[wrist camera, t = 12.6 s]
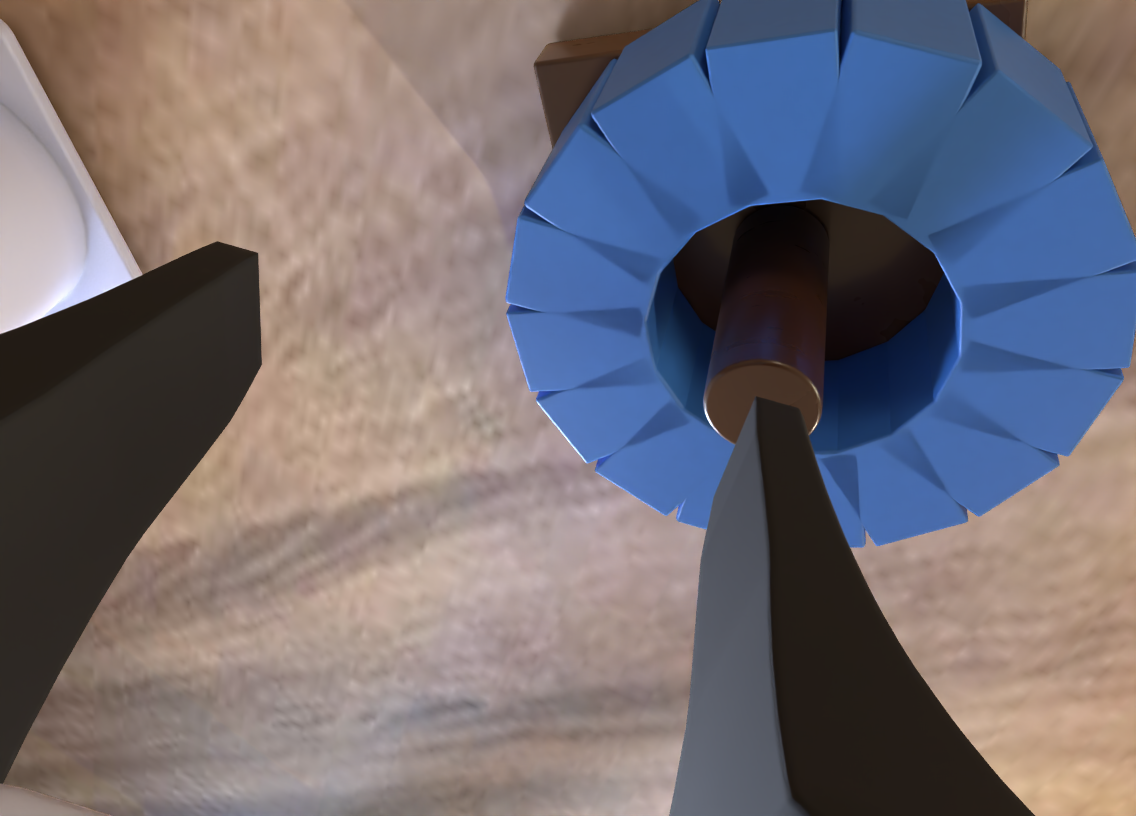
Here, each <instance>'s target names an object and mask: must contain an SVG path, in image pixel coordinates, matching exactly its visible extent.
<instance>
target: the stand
mask: <svg viewBox="0 0 1136 816" xmlns="http://www.w3.org/2000/svg"><path fill="white" fill-rule="evenodd" d="M966 3H967V7H968V10H969V12H970V11H971V9H972V8H973V7H974V6H975V5H976V4H978V3H979V4H981V5H983V6H984V7H985V8H986V9H987V10H989V11H990V12H991V13H992V14H994V15H995V16H996V17H997V18H998V19H1000V20H1001V21H1002V22H1003V23H1004V24H1006V25H1007V26H1008V27H1009V28H1011V29H1012V30H1013V31H1014V32H1015V33H1017V34H1018V35H1019V36H1020V37H1021V38H1023V39H1024V40H1025V37H1026V23H1027V9H1028V0H966ZM651 30H652V29H647V30H640V31H633V32H626V33H619V34H612V35H605V36H598V37H591V38H584V39H577V40H570V41H563V42H556V43H549V44H548V45H546V47H545V48H544V49H543V51H542V52H541V54H540V55H539V57H538V58H537V60H536V61H535V63H534V70H535V74H536V78H537V83H538V87H539V92H540V96H541V100H542V105H543V109H544V113H545V118H546V122H547V126H548V131H549V135H550V140H551V144H552V148H554V146H555V144H556V142H557V140H558V138H559V137H560V135H561V133H562V131H563V130H564V128H565V127H566V125H567V124H568V122H569V121H570V120H571V118H572V117H573V115H574V114H575V112H576V111H577V109H578V108H579V106H580V105H581V103H582V102H583V101H584V99H585V98H586V96H587V95H588V93H589V92H590V90H591V89H592V87H593V86H594V84H595V83H596V82H597V80H598V79H599V77H600V76H601V74H602V73H603V71H604V70H605V68H606V67H607V66H608V64H609V63H610V61H611V60H613V59H617V60H618V59H619V57H620V55H621V53H622V51H623V49H624V47H625V46H627V45H628V44H630V43H632V42H633V41H635V40H636V39H638V38H640V37H641V36H643V35H644V34H646V33H648V32H649V31H651ZM673 262H674V267H675V273H676V279H677V284H678V288H679V289H680V291H681V292H682V294H683V295H684V297H685V298H686V300H687V301H688V303H689V304H690V305H691V307H692V308H693V310H694V311H695V313H696V314H697V316H698V317H699V319H700V320H701V322H702V323H704V324H705V325H707V326H708V327H710V328H711V329H713V330H714V331H716V333H715V338H714V343H713V349H712V354H711V359H710V364H709V369H708V375H707V380H706V385H705V390H704V396H703V407H704V411H705V414H706V417H707V419H708V421H709V423H710V424H711V426H712V427H713V429H714V430H715V431H716V432H717V433H718V434H719V435H720V436H721V437H723V438H724V439H725V440H727V441H729V442H730V443H732V444H734V445H735V444H736V442H737V440H738V437H739V435H740V432H741V430H742V428H743V425H744V423H745V420H746V418H747V416H748V413H749V411H750V408H751V406H752V404H753V401H754V399H755V396H758V397H761V398H765V399H768V400H772V401H775V402H779V403H782V404H786V405H789V406H793V407H796V408H799V409H800V411H801V413H802V415H803V416H804V420H805V423H806V427H807V431H808V434H809V435H810V434H811V433H812V432H813V431H814V430H815V428H816V427H817V425H818V423H819V421H820V419H821V416H822V411H823V389H824V365H825V361H832V360H840V359H843V358H846V357H848V356H851V355H854V354H856V353H859V352H862V351H864V350H867V349H869V348H872V347H875V346H877V345H880V344H883V343H885V342H888V341H889V340H890V339H891V338H892V337H894V336H895V335H896V334H897V333H898V332H900V331H901V330H902V329H903V328H904V327H905V326H907V325H908V324H909V323H910V322H911V321H912V320H914V319H915V318H916V317H917V316H918V315H920V314H921V313H922V312H923V311H924V310H925V309H926V307H927V305H928V303H929V301H930V299H931V297H932V295H933V293H934V291H935V290H936V288H937V286H938V284H939V282H940V280H941V278H942V276H943V274H944V271H943V269H942V268H941V266H940V264H939V262H938V260H937V258H936V256H935V254H934V253H933V252H932V251H930V250H929V249H928V248H926V247H925V246H924V245H922V244H921V243H920V242H918V241H917V240H916V239H914V238H913V237H912V236H910V235H909V234H908V233H906V232H905V231H904V230H902V229H901V228H900V227H898V226H897V225H896V224H894V223H893V222H891V221H890V220H889V219H887V218H886V217H885V216H883V215H880V214H876V213H872V212H869V211H865V210H861V209H857V208H853V207H850V206H846V205H842V204H838V203H834V202H830V201H827V200H823V199H816V200H806V201H795V202H784V203H774V204H763V205H753V206H749V207H747V208H745V209H743V210H741V211H739V212H737V213H735V214H733V215H731V216H729V217H726V218H724V219H722V220H720V221H718V222H716V223H714V224H712V225H710V226H708V227H706V228H704V229H702V230H700V231H698V232H696V233H695V234H694V235H693V236H692V237H691V239H690V240H689V241H688V242H687V243H686V244H685V245H684V247H683V248H682V249H681V250H680V251H679V252H678V253H677V255H676V256H675V257H674V258H673Z"/></svg>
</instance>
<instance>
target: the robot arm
mask: <svg viewBox="0 0 1136 816" xmlns="http://www.w3.org/2000/svg"><path fill="white" fill-rule="evenodd" d="M261 365H262V357H261V326H260V296H259V266H258V253H256V252H253V251H249V250H246V249H242V248H239V247H235V246H232V245H228V244H225V243H221V242H218V241H217V242H215V243H212V244H210V245H207V246H205V247H202V248H200V249H198V250H195V251H193V252H191V253H189V254H186V255H184V256H182V257H180V258H178V259H176V260H173V261H171V262H169V263H167V264H165V265H163V266H161V267H158V268H156V269H154V270H152V271H150V272H148V273H146V274H142V272H141V270H140V268H139V267H138V265H137V263H136V261H135V259H134V257H133V255H132V254H131V252H130V250H129V248H128V246H127V244H126V242H125V240H124V239H123V237H122V235H121V233H120V231H119V229H118V227H117V226H116V224H115V222H114V220H113V218H112V216H111V214H110V213H109V211H108V209H107V207H106V205H105V203H104V201H103V199H102V198H101V196H100V194H99V192H98V190H97V188H96V186H95V185H94V183H93V181H92V179H91V177H90V175H89V173H88V171H87V170H86V168H85V166H84V164H83V162H82V160H81V158H80V157H79V155H78V153H77V151H76V149H75V147H74V145H73V143H72V142H71V140H70V138H69V136H68V134H67V132H66V130H65V129H64V127H63V125H62V123H61V121H60V119H59V117H58V115H57V114H56V112H55V110H54V108H53V106H52V104H51V102H50V101H49V99H48V97H47V95H46V93H45V91H44V89H43V88H42V86H41V84H40V82H39V80H38V78H37V76H36V74H35V73H34V71H33V69H32V67H31V65H30V63H29V61H28V60H27V58H26V56H25V54H24V52H23V50H22V48H21V46H20V45H19V43H18V41H17V39H16V37H15V35H14V33H13V32H12V30H11V29H10V28H9V26H8V25H7V24H6V23H5V22H4V21H2V20H1V19H0V816H112V815H109V814H105V813H102V812H99V811H96V810H93V809H90V808H86V807H83V806H80V805H77V804H74V803H71V802H67V801H64V800H61V799H58V798H55V797H52V796H48V795H45V794H42V793H39V792H36V791H33V790H29V789H26V788H22V787H17V786H11V785H6V784H3V782H4V780H5V778H6V776H7V774H8V772H9V770H10V768H11V766H12V764H13V762H14V760H15V758H16V756H17V754H18V752H19V750H20V748H21V746H22V744H23V742H24V739H25V737H26V735H27V734H28V732H29V730H30V728H31V726H32V724H33V722H34V720H35V718H36V717H37V715H38V713H39V711H40V709H41V707H42V705H43V703H44V701H45V700H46V698H47V696H48V694H49V692H50V690H51V688H52V686H53V684H54V683H55V681H56V679H57V677H58V675H59V673H60V671H61V669H62V668H63V666H64V664H65V662H66V661H67V659H68V657H69V655H70V654H71V652H72V650H73V648H74V647H75V645H76V643H77V641H78V640H79V638H80V636H81V634H82V632H83V631H84V629H85V627H86V625H87V624H88V622H89V620H90V618H91V617H92V615H93V613H94V611H95V610H96V608H97V606H98V605H99V603H100V602H101V600H102V598H103V597H104V595H105V593H106V592H107V590H108V588H109V587H110V585H111V583H112V582H113V580H114V578H115V577H116V575H117V574H118V572H119V570H120V569H121V567H122V565H123V564H124V562H125V560H126V559H127V557H128V556H129V554H130V553H131V551H132V550H133V549H134V547H135V546H136V544H137V543H138V541H139V540H140V539H141V537H142V536H143V534H144V533H145V532H146V530H147V529H148V528H149V526H150V525H151V524H152V523H153V521H154V520H155V519H156V517H157V516H158V515H159V513H160V512H161V511H162V510H163V508H164V507H165V506H166V504H167V503H168V502H169V501H170V499H171V498H172V497H173V495H174V494H175V493H176V491H177V490H178V489H179V488H180V486H181V485H182V484H183V482H184V481H185V480H186V479H187V477H188V476H189V475H190V473H191V472H192V471H193V470H194V468H195V467H196V466H197V464H198V463H199V462H200V460H201V459H202V458H203V457H204V455H205V454H206V453H207V451H208V450H209V449H210V447H211V446H212V445H213V443H214V442H215V441H216V439H217V438H218V437H219V435H220V434H221V433H222V431H223V430H224V429H225V427H226V426H227V425H228V423H229V422H230V421H231V419H232V417H233V416H234V414H235V412H236V410H237V409H238V407H239V405H240V404H241V402H242V400H243V398H244V397H245V395H246V393H247V391H248V389H249V387H250V386H251V384H252V382H253V380H254V378H255V376H256V374H257V373H258V371H259V369H260V367H261ZM669 816H1035V815H1034V814H1033V813H1032V812H1031V811H1030V810H1029V809H1028V808H1027V807H1026V806H1025V805H1024V803H1023V802H1022V801H1021V800H1020V799H1019V798H1018V797H1017V796H1016V795H1015V794H1014V793H1013V792H1012V791H1011V790H1010V788H1009V787H1008V786H1007V785H1006V784H1005V783H1004V782H1003V781H1002V780H1001V779H1000V777H999V776H998V775H997V774H996V773H995V772H994V770H993V769H992V768H991V767H990V766H989V764H988V763H987V762H986V761H985V759H984V758H983V757H982V756H981V755H980V753H979V752H978V751H977V750H976V749H975V747H974V746H973V745H972V744H971V742H970V741H969V740H968V739H967V738H966V736H965V735H964V734H963V733H962V731H961V730H960V729H959V727H958V726H957V725H956V723H955V722H954V721H953V720H952V718H951V717H950V716H949V714H948V713H947V712H946V710H945V709H944V707H943V706H942V705H941V703H940V702H939V700H938V699H937V697H936V696H935V695H934V693H933V692H932V690H931V689H930V688H929V686H928V685H927V683H926V682H925V681H924V679H923V678H922V676H921V675H920V673H919V672H918V671H917V669H916V668H915V666H914V665H913V663H912V662H911V660H910V659H909V657H908V655H907V654H906V652H905V651H904V649H903V648H902V646H901V644H900V643H899V641H898V639H897V638H896V636H895V634H894V632H893V631H892V629H891V627H890V626H889V624H888V622H887V620H886V619H885V617H884V615H883V613H882V611H881V610H880V608H879V606H878V604H877V602H876V600H875V598H874V596H873V595H872V593H871V591H870V589H869V587H868V585H867V583H866V581H865V579H864V576H863V574H862V572H861V570H860V568H859V566H858V564H857V562H856V560H855V558H854V555H853V553H852V551H851V549H850V546H849V544H848V542H847V539H846V537H845V535H844V532H843V530H842V527H841V525H840V522H839V520H838V517H837V515H836V512H835V510H834V507H833V505H832V502H831V500H830V497H829V495H828V492H827V489H826V486H825V484H824V481H823V478H822V475H821V472H820V469H819V466H818V463H817V460H816V457H815V454H814V451H813V447H812V444H811V441H810V437H809V434H808V431H807V427H806V423H805V420H804V416H803V415H802V413H801V411H800V409H799V408H796V407H793V406H789V405H786V404H782V403H779V402H775V401H772V400H768V399H765V398H761V397H758V396H755V399H754V401H753V404H752V406H751V408H750V411H749V413H748V416H747V418H746V420H745V423H744V425H743V428H742V430H741V432H740V435H739V437H738V440H737V442H736V444H735V447H734V449H733V452H732V454H731V456H730V459H729V461H728V464H727V466H726V468H725V471H724V473H723V476H722V478H721V480H720V483H719V485H718V488H717V490H716V492H715V495H714V498H713V503H712V507H711V512H710V517H709V522H708V526H707V531H706V536H705V541H704V546H703V551H702V556H701V564H700V575H699V587H698V599H697V611H696V624H695V637H694V649H693V662H692V675H691V688H690V699H689V707H688V715H687V723H686V730H685V735H684V741H683V746H682V751H681V757H680V762H679V768H678V773H677V778H676V784H675V789H674V794H673V800H672V805H671V810H670V815H669Z"/></svg>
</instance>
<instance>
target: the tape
mask: <svg viewBox="0 0 1136 816" xmlns="http://www.w3.org/2000/svg"><path fill="white" fill-rule="evenodd" d="M816 199H823V200H827V201H830V202H834V203H838V204H842V205H846V206H850V207H853V208H857V209H861V210H865V211H869V212H872V213H876V214H880V215H883V216H885V217H886V218H887V219H889V220H890V221H891V222H893V223H894V224H896V225H897V226H898V227H900V228H901V229H902V230H904V231H905V232H906V233H908V234H909V235H910V236H912V237H913V238H914V239H916V240H917V241H918V242H920V243H921V244H922V245H924V246H925V247H926V248H928V249H929V250H930V251H932V252H933V253H934V254H935V256H936V258H937V260H938V262H939V264H940V266H941V268H942V269H943V271H944V274H943V276H942V278H941V280H940V282H939V284H938V286H937V288H936V290H935V291H934V293H933V295H932V297H931V299H930V301H929V303H928V305H927V307H926V309H925V310H924V311H923V312H922V313H921V314H920V315H918V316H917V317H916V318H915V319H914V320H912V321H911V322H910V323H909V324H908V325H907V326H905V327H904V328H903V329H902V330H901V331H900V332H898V333H897V334H896V335H895V336H894V337H892V338H891V339H890V340H889V341H888V342H885V343H883V344H880V345H877V346H875V347H872V348H869V349H867V350H864V351H862V352H859V353H856V354H854V355H851V356H848V357H846V358H843V359H840V360H832V361H825V365H824V389H823V411H822V416H821V419H820V421H819V423H818V425H817V427H816V428H815V430H814V431H813V432H812V433H811V434H810V435H809V437H810V441H811V444H812V447H813V451H814V454H815V457H816V460H817V463H818V466H819V469H820V472H821V475H822V478H823V481H824V484H825V486H826V489H827V492H828V495H829V497H830V500H831V502H832V505H833V507H834V510H835V512H836V515H837V517H838V520H839V522H840V525H841V527H842V530H843V532H844V535H845V537H846V539H847V542H848V544H849V546H850V547H861V548H862V547H864V546H865V544H866V539H865V530H866V531H867V533H868V534H869V536H870V537H871V539H872V540H873V542H874V543H875V545H876V546H880V545H884V544H888V543H892V542H895V541H899V540H903V539H907V538H910V537H914V536H918V535H921V534H925V533H929V532H933V531H936V530H940V529H944V528H947V527H951V526H955V525H959V524H962V523H966V522H968V515H967V509H968V510H969V511H971V512H972V513H974V514H975V515H977V516H982V515H983V514H985V513H986V512H988V511H990V510H991V509H993V508H994V507H996V506H997V505H999V504H1000V503H1002V502H1004V501H1005V500H1007V499H1008V498H1010V497H1011V496H1013V495H1014V494H1016V493H1018V492H1019V491H1021V490H1022V489H1024V488H1025V487H1027V486H1029V485H1030V484H1032V483H1033V482H1035V481H1036V480H1038V479H1039V478H1041V477H1043V476H1044V475H1046V474H1047V473H1049V472H1050V471H1052V470H1053V469H1055V468H1057V467H1058V466H1059V459H1058V455H1057V454H1060V455H1064V456H1070V454H1071V453H1072V452H1073V450H1074V449H1075V447H1076V446H1077V445H1078V443H1079V442H1080V440H1081V439H1082V438H1083V436H1084V435H1085V433H1086V432H1087V431H1088V429H1089V428H1090V426H1091V425H1092V424H1093V422H1094V421H1095V419H1096V418H1097V417H1098V415H1099V414H1100V412H1101V411H1102V410H1103V408H1104V407H1105V405H1106V404H1107V403H1108V401H1109V400H1110V398H1111V397H1112V396H1113V394H1114V393H1115V392H1116V390H1117V389H1118V387H1119V386H1120V385H1121V383H1122V382H1123V380H1124V376H1123V373H1122V370H1121V368H1128V367H1129V366H1130V363H1131V357H1132V350H1133V343H1134V337H1135V330H1136V238H1135V235H1134V233H1133V230H1132V228H1131V226H1130V223H1129V221H1128V218H1127V216H1126V213H1125V211H1124V208H1123V206H1122V203H1121V201H1120V198H1119V196H1118V194H1117V191H1116V189H1115V186H1114V184H1113V181H1112V179H1111V176H1110V174H1109V171H1108V169H1107V166H1106V164H1105V162H1104V159H1103V157H1102V154H1101V152H1100V150H1099V148H1098V145H1097V143H1096V141H1095V138H1094V136H1093V134H1092V131H1091V129H1090V127H1089V125H1088V122H1087V120H1086V118H1085V115H1084V113H1083V111H1082V108H1081V106H1080V104H1079V101H1078V99H1077V97H1076V95H1075V92H1074V90H1073V88H1072V85H1071V83H1070V82H1066V81H1065V79H1064V77H1063V74H1062V72H1061V70H1060V69H1059V68H1058V67H1057V66H1056V65H1054V64H1053V63H1052V62H1051V61H1049V60H1048V59H1047V58H1046V57H1045V56H1043V55H1042V54H1041V53H1040V52H1039V51H1037V50H1036V49H1035V48H1034V47H1032V46H1031V45H1030V44H1029V43H1028V42H1026V41H1025V40H1024V39H1023V38H1021V37H1020V36H1019V35H1018V34H1017V33H1015V32H1014V31H1013V30H1012V29H1011V28H1009V27H1008V26H1007V25H1006V24H1004V23H1003V22H1002V21H1001V20H1000V19H998V18H997V17H996V16H995V15H994V14H992V13H991V12H990V11H989V10H987V9H986V8H985V7H984V6H983V5H981V4H979V3H978V4H976V5H975V6H974V7H973V8H972V9H971V11H970V12H969V10H968V7H967V3H966V0H722V1H721V4H720V3H719V1H718V0H699V1H697V2H696V3H694V4H692V5H691V6H689V7H688V8H686V9H684V10H683V11H681V12H680V13H678V14H676V15H675V16H673V17H672V18H670V19H668V20H667V21H665V22H664V23H662V24H660V25H659V26H657V27H656V28H654V29H652V30H651V31H649V32H648V33H646V34H644V35H643V36H641V37H640V38H638V39H636V40H635V41H633V42H632V43H630V44H628V45H627V46H625V47H624V49H623V51H622V53H621V55H620V57H619V59H618V60H617V59H613V60H611V61H610V63H609V64H608V66H607V67H606V68H605V70H604V71H603V73H602V74H601V76H600V77H599V79H598V80H597V82H596V83H595V84H594V86H593V87H592V89H591V90H590V92H589V93H588V95H587V96H586V98H585V99H584V101H583V102H582V103H581V105H580V106H579V108H578V109H577V111H576V112H575V114H574V115H573V117H572V118H571V120H570V121H569V122H568V124H567V125H566V127H565V128H564V130H563V131H562V133H561V135H560V137H559V138H558V140H557V142H556V144H555V146H554V148H553V149H552V151H551V153H550V155H549V157H548V159H547V160H546V162H545V164H544V166H543V168H542V170H541V171H540V173H539V175H538V177H537V179H536V181H535V182H534V184H533V186H532V188H531V190H530V192H529V193H528V195H527V197H526V199H525V203H524V204H525V205H524V207H523V209H522V211H521V212H520V214H519V216H518V220H517V226H516V233H515V239H514V246H513V253H512V259H511V266H510V272H509V279H508V286H507V292H506V302H507V303H510V306H509V308H508V310H507V313H506V314H507V318H508V321H509V324H510V328H511V331H512V334H513V338H514V341H515V344H516V348H517V351H518V354H519V358H520V361H521V364H522V367H523V371H524V374H525V377H526V381H527V384H528V387H529V390H530V391H532V392H533V391H539V393H538V395H537V398H536V401H537V403H538V404H539V406H540V407H541V408H542V409H543V411H544V412H545V413H546V414H547V415H548V417H549V418H550V419H551V420H552V422H553V423H554V424H555V425H556V427H557V428H558V429H559V430H560V431H561V433H562V434H563V435H564V436H565V438H566V439H567V440H568V441H569V443H570V444H571V445H572V446H573V447H574V449H575V450H576V451H577V452H578V454H579V455H580V456H581V457H582V459H583V460H584V461H585V462H586V463H590V462H593V461H595V460H598V461H597V465H596V468H595V471H596V473H598V474H600V475H601V476H603V477H604V478H606V479H608V480H609V481H611V482H612V483H614V484H616V485H617V486H619V487H620V488H622V489H623V490H625V491H627V492H628V493H630V494H631V495H633V496H635V497H636V498H638V499H639V500H641V501H643V502H644V503H646V504H647V505H649V506H650V507H652V508H654V509H655V510H657V511H658V512H660V513H662V514H663V515H665V516H667V515H668V514H670V513H671V512H672V511H673V510H674V509H675V508H677V507H678V506H679V507H678V512H677V517H676V519H677V521H678V522H682V523H685V524H689V525H692V526H696V527H699V528H703V529H707V526H708V522H709V517H710V512H711V507H712V503H713V498H714V495H715V492H716V490H717V488H718V485H719V483H720V480H721V478H722V476H723V473H724V471H725V468H726V466H727V464H728V461H729V459H730V456H731V454H732V452H733V449H734V447H735V445H734V444H732V443H730V442H729V441H727V440H725V439H724V438H723V437H721V436H720V435H719V434H718V433H717V432H716V431H715V430H714V429H713V427H712V426H711V424H710V423H709V421H708V419H707V417H706V414H705V411H704V407H703V396H704V390H705V385H706V380H707V375H708V369H709V364H710V359H711V354H712V349H713V343H714V338H715V333H716V331H714V330H713V329H711V328H710V327H708V326H707V325H705V324H704V323H702V322H701V320H700V319H699V317H698V316H697V314H696V313H695V311H694V310H693V308H692V307H691V305H690V304H689V303H688V301H687V300H686V298H685V297H684V295H683V294H682V292H681V291H680V289H679V288H678V284H677V279H676V273H675V267H674V262H673V258H674V257H675V256H676V255H677V253H678V252H679V251H680V250H681V249H682V248H683V247H684V245H685V244H686V243H687V242H688V241H689V240H690V239H691V237H692V236H693V235H694V234H695V233H696V232H698V231H700V230H702V229H704V228H706V227H708V226H710V225H712V224H714V223H716V222H718V221H720V220H722V219H724V218H726V217H729V216H731V215H733V214H735V213H737V212H739V211H741V210H743V209H745V208H747V207H749V206H753V205H763V204H774V203H784V202H795V201H806V200H816Z"/></svg>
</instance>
